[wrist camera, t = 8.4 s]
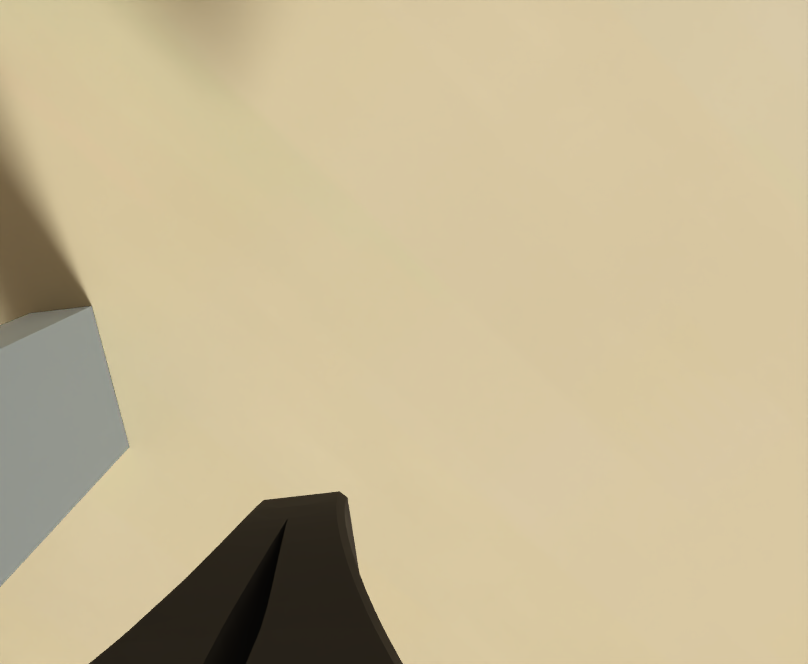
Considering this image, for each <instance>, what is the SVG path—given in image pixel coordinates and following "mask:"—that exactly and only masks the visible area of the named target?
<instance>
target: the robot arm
mask: <svg viewBox="0 0 808 664" xmlns="http://www.w3.org/2000/svg"><path fill="white" fill-rule="evenodd" d="M89 664H403V663H402V662H401V660H400V658H399V656H398V654H397V653H396V651H395V649H394V647H393V645H392V644H391V642H390V640H389V638H388V636H387V634H386V632H385V630H384V628H383V626H382V624H381V622H380V620H379V618H378V616H377V614H376V612H375V610H374V607H373V605H372V603H371V601H370V598H369V596H368V594H367V592H366V589H365V587H364V584H363V582H362V579H361V576H360V574H359V569H358V562H357V556H356V550H355V543H354V537H353V530H352V524H351V518H350V511H349V505H348V498H347V497H346V496H345V495H343V494H342V493H341V492H331V493H322V494H314V495H305V496H296V497H287V498H278V499H270V500H263V501H262V502H261V503H260V504H259V505H258V506H257V507H256V508H255V509H254V510H253V511H252V512H251V513H250V514H249V515H248V516H247V517H246V518H245V519H244V520H243V521H242V522H241V523H240V524H239V525H238V526H237V527H236V528H235V529H234V530H233V531H232V532H231V533H230V534H229V535H228V536H227V537H226V538H225V539H224V540H223V542H222V543H221V544H220V545H219V546H218V547H217V548H216V549H215V550H214V551H213V552H212V553H211V554H210V555H209V556H208V557H207V558H206V559H205V560H204V561H203V562H202V563H201V564H200V565H199V566H198V567H197V568H196V569H195V570H194V571H193V572H192V573H191V574H190V575H189V576H188V577H187V578H186V579H185V580H184V581H182V582H181V583H180V584H179V585H178V586H177V587H176V588H175V589H174V590H173V591H172V592H170V593H169V594H168V595H167V596H166V597H165V598H164V599H163V600H162V601H161V602H160V603H158V604H157V605H156V606H155V607H154V608H153V609H152V610H151V611H150V612H149V613H148V614H146V615H145V616H144V617H143V618H142V619H141V620H140V621H139V622H138V623H137V624H136V625H134V626H133V627H132V628H131V629H130V630H129V631H128V632H127V633H125V634H124V635H123V636H122V637H121V638H120V639H118V640H117V641H116V642H115V643H114V644H113V645H111V646H110V647H109V648H108V649H106V650H105V651H104V652H103V653H102V654H100V655H99V656H98V657H97V658H96V659H94V660H93V661H92V662H90V663H89Z"/></svg>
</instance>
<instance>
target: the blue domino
mask: <svg viewBox="0 0 808 664" xmlns="http://www.w3.org/2000/svg"><path fill="white" fill-rule="evenodd" d="M128 448H129V444H128V440H127V436H126V433H125V429H124V425H123V421H122V418H121V414H120V410H119V406H118V403H117V399H116V395H115V391H114V388H113V384H112V380H111V376H110V373H109V369H108V365H107V362H106V358H105V354H104V350H103V347H102V343H101V339H100V335H99V332H98V328H97V324H96V320H95V317H94V313H93V309H92V306H87V307H78V308H70V309H61V310H53V311H44V312H36V313H29V314H27V315H24V316H22V317H19V318H17V319H14V320H12V321H9V322H7V323H5V324H2V325H0V587H1V585H2V584H3V583H4V582H5V581H6V580H7V579H8V578H9V577H10V576H11V575H12V574H13V572H14V571H15V570H16V569H17V568H18V567H19V566H20V565H21V564H22V563H23V562H24V561H25V559H26V558H27V557H28V556H29V555H30V554H31V553H32V552H33V551H34V550H35V549H36V548H37V546H38V545H39V544H40V543H41V542H42V541H43V540H44V539H45V538H46V537H47V536H48V535H49V533H50V532H51V531H52V530H53V529H54V528H55V527H56V526H57V525H58V524H59V523H60V522H61V520H62V519H63V518H64V517H65V516H66V515H67V514H68V513H69V512H70V511H71V510H72V509H73V507H74V506H75V505H76V504H77V503H78V502H79V501H80V500H81V499H82V498H83V497H84V496H85V494H86V493H87V492H88V491H89V490H90V489H91V488H92V487H93V486H94V485H95V484H96V483H97V481H98V480H99V479H100V478H101V477H102V476H103V475H104V474H105V473H106V472H107V471H108V470H109V468H110V467H111V466H112V465H113V464H114V463H115V462H116V461H117V460H118V459H119V458H120V457H121V455H122V454H123V453H124V452H125V451H126V450H127V449H128Z"/></svg>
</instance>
